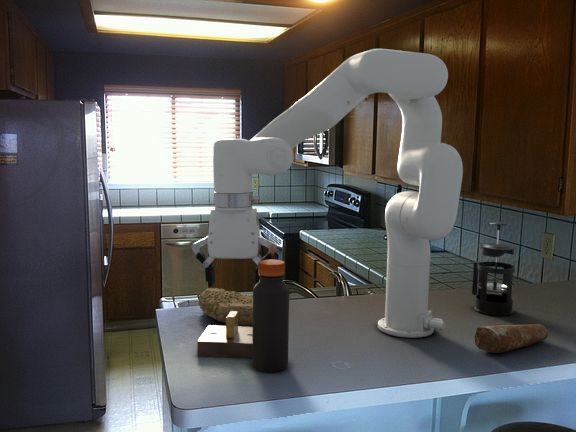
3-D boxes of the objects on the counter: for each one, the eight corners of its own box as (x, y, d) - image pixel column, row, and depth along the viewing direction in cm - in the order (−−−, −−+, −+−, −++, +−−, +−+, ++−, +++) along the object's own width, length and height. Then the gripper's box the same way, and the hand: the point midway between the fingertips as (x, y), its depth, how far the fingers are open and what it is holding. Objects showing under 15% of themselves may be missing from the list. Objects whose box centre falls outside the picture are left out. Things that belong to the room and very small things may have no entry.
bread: (470, 350, 116) (472, 323, 115) (532, 336, 125) (534, 312, 124) (495, 360, 110) (496, 333, 110) (557, 345, 119) (559, 320, 119)
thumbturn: (230, 329, 117) (230, 309, 116) (238, 329, 117) (238, 310, 116) (225, 337, 112) (225, 317, 111) (233, 338, 112) (233, 317, 111)
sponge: (193, 316, 139) (212, 324, 120) (197, 285, 140) (217, 288, 121) (243, 321, 143) (269, 329, 125) (247, 291, 144) (273, 294, 126)
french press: (523, 313, 142) (529, 223, 139) (499, 319, 137) (505, 226, 134) (484, 302, 152) (490, 218, 149) (461, 307, 147) (466, 220, 144)
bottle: (259, 375, 101) (260, 267, 99) (247, 361, 107) (247, 259, 105) (293, 369, 104) (295, 264, 102) (279, 357, 110) (281, 257, 108)
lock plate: (264, 340, 119) (264, 326, 119) (257, 358, 109) (258, 343, 109) (208, 338, 120) (208, 324, 120) (197, 355, 110) (197, 340, 110)
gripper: (278, 199, 114) (279, 281, 116) (194, 199, 115) (197, 280, 118) (274, 203, 107) (275, 291, 109) (185, 203, 108) (188, 289, 110)
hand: (235, 285), depth 113 cm, fingers open, 9 cm apart
